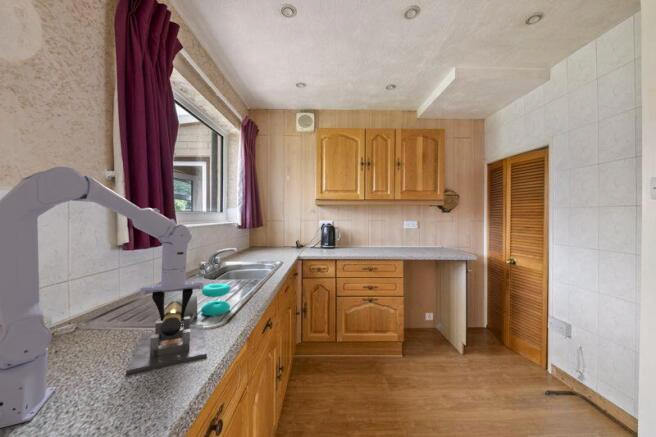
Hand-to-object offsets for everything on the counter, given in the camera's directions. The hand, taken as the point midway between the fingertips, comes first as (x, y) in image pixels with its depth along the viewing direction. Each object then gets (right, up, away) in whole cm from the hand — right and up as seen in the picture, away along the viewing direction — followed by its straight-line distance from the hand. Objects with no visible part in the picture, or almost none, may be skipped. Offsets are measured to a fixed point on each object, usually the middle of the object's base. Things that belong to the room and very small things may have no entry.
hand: (172, 318), depth 68 cm
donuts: (0, -9, +27) cm, 28 cm away
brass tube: (0, -2, 0) cm, 2 cm away
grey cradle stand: (0, -8, 0) cm, 8 cm away
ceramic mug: (-7, -8, +19) cm, 22 cm away
